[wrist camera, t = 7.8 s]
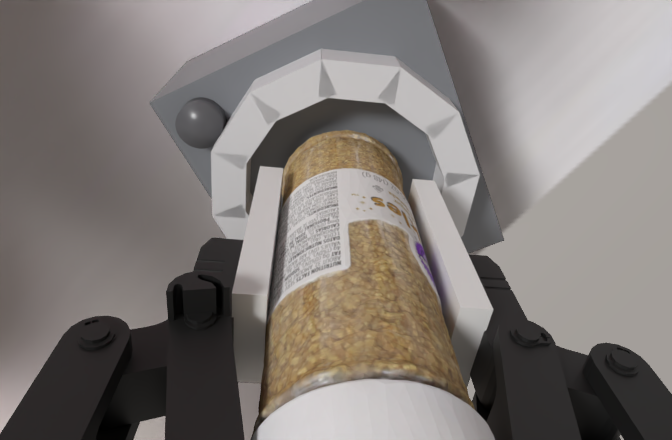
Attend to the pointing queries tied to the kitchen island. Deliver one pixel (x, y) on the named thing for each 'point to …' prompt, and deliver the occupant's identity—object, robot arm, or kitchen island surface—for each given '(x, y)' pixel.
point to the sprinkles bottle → (356, 309)
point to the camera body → (328, 106)
